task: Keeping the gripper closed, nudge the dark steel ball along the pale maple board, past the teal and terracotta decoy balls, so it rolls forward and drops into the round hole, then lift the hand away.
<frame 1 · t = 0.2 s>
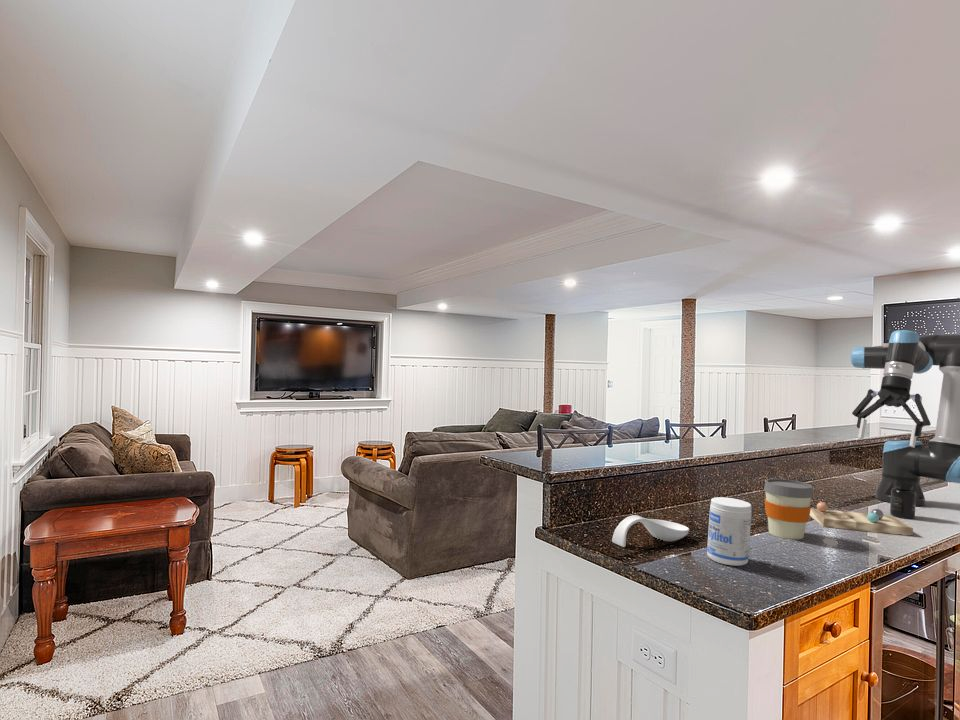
hand: (885, 442, 177), 27 cm above the counter, tool tilted 15°, fingers open, 13 cm apart
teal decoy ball: (872, 517, 173), point 4 cm above the counter, touching maple board
reusable coffee cup: (785, 535, 165), on the counter
maple board: (858, 525, 178), on the counter
supplement bottle: (902, 517, 192), on the counter
steel ball: (877, 514, 177), point 4 cm above the counter, touching maple board
supplement tub: (727, 560, 141), on the counter
spoon rest: (650, 541, 154), on the counter
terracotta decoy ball: (822, 506, 184), point 4 cm above the counter, touching maple board
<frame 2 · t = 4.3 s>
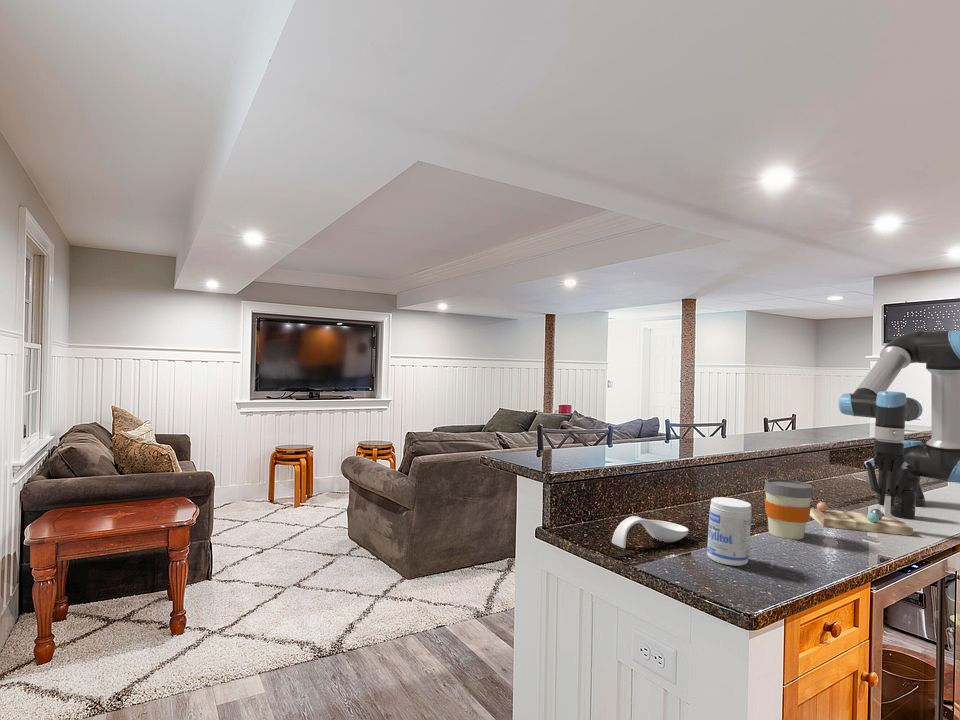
hand: (885, 515, 176), 4 cm above the counter, tool pointing down, fingers closed
steel ball: (876, 514, 177), point 4 cm above the counter, touching gripper, maple board
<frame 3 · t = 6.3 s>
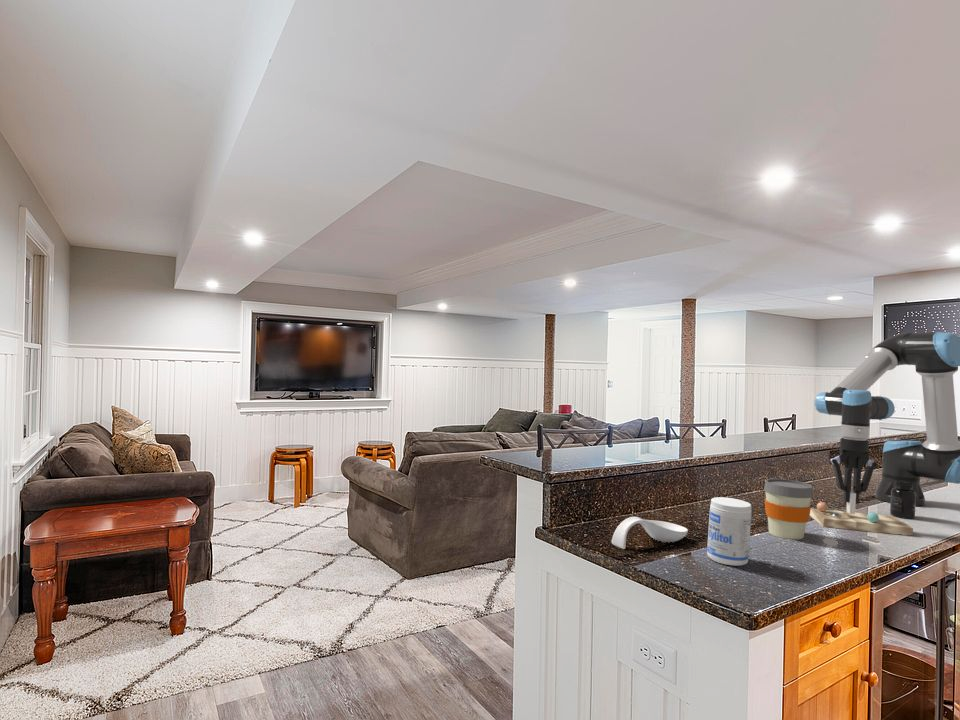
hand: (850, 512, 179), 4 cm above the counter, tool pointing down, fingers closed
steel ball: (836, 518, 180), point 2 cm above the counter, tilted 51°
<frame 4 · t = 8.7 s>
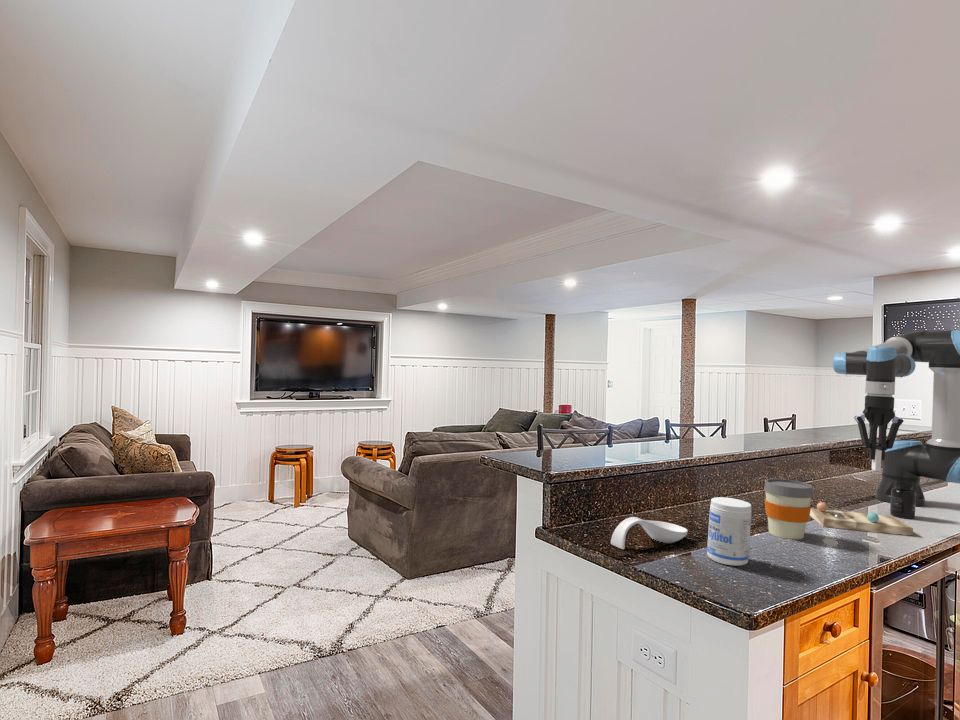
hand: (876, 470, 177), 18 cm above the counter, tool pointing down, fingers closed
steel ball: (838, 518, 179), point 2 cm above the counter, tilted 23°
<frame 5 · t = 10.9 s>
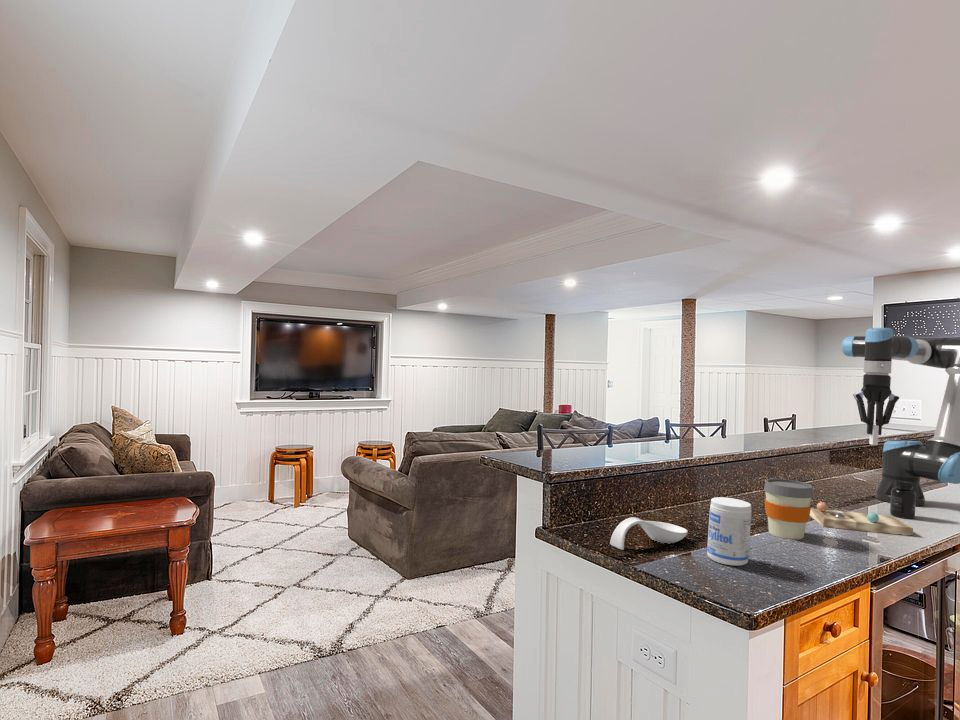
hand: (873, 444, 189), 24 cm above the counter, tool pointing down, fingers closed
steel ball: (839, 518, 179), point 2 cm above the counter, tilted 16°
at the end: steel ball 0.6 cm from the target spot in the maple board, point 1.6 cm above the maple board's base; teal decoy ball moved 0.0 cm from its start; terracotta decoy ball moved 0.0 cm from its start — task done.
